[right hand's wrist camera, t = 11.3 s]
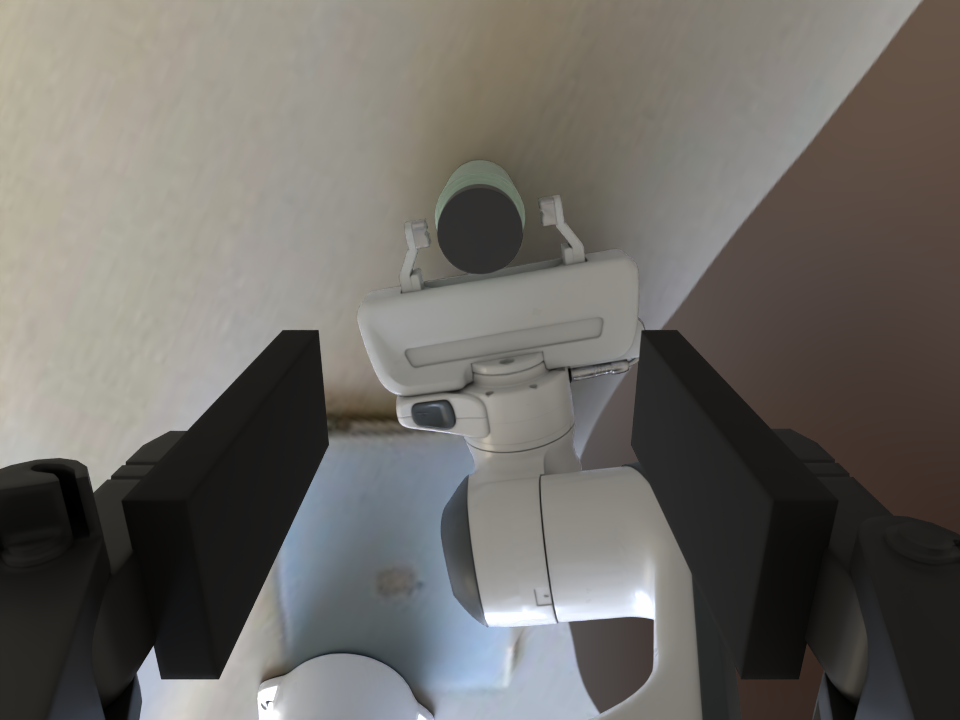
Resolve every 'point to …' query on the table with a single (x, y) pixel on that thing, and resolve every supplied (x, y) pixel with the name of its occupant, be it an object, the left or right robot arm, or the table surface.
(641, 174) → the table surface
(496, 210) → the cap
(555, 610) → the left robot arm
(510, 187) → the bottle
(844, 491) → the right robot arm
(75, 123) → the table surface
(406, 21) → the table surface
